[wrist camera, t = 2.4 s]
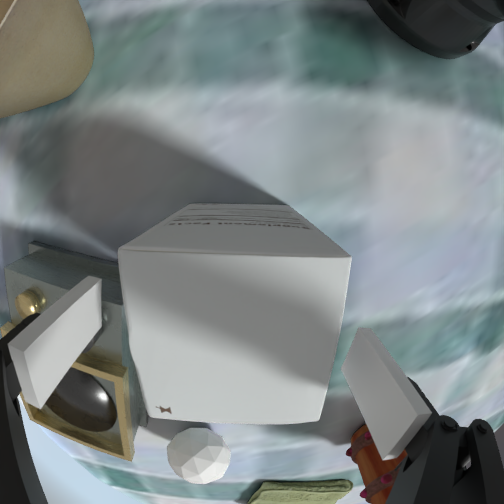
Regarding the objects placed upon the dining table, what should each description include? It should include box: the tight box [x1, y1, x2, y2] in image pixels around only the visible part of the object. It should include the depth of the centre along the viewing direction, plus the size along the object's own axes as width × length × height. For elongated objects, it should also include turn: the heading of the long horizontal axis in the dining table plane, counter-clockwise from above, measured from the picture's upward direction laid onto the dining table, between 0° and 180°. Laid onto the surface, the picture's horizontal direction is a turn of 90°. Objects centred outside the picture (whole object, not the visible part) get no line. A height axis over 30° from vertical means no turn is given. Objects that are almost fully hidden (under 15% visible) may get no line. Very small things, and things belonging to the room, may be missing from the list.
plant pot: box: [0, 0, 94, 119], centre depth 12 cm, size 15×15×16 cm
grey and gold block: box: [0, 241, 148, 462], centre depth 24 cm, size 22×15×8 cm
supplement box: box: [118, 203, 352, 424], centre depth 18 cm, size 9×9×15 cm
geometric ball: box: [167, 428, 231, 484], centre depth 28 cm, size 8×8×8 cm
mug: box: [346, 424, 407, 504], centre depth 26 cm, size 15×8×15 cm, turn 95°
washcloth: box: [247, 480, 353, 504], centre depth 37 cm, size 13×18×3 cm
